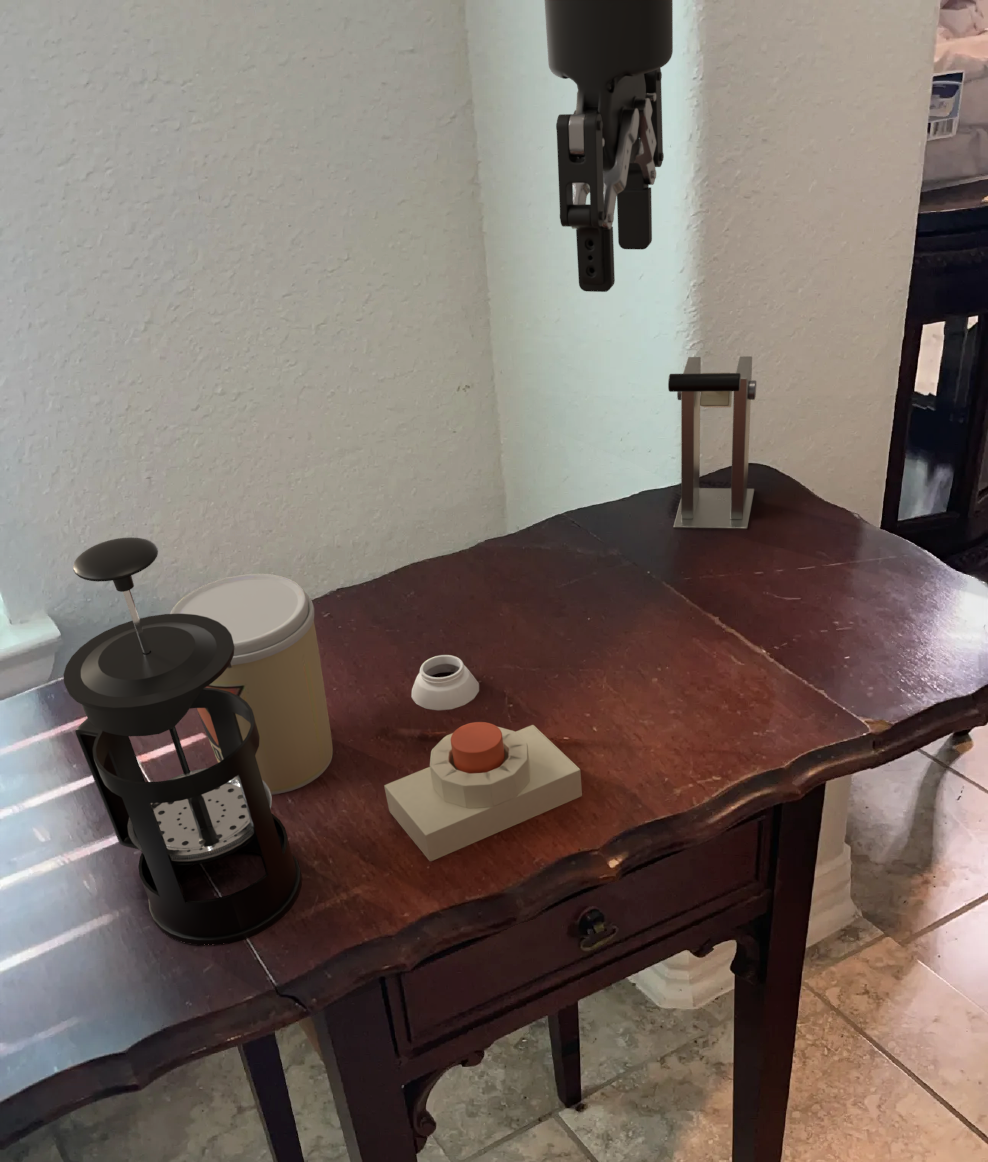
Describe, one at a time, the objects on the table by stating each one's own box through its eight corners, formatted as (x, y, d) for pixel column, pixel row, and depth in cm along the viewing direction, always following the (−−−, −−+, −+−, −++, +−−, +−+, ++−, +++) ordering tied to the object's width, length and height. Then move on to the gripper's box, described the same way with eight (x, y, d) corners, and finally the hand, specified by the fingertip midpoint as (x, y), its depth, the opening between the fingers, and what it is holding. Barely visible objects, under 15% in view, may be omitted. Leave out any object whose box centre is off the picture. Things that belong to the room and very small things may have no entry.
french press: (338, 859, 79) (254, 517, 63) (262, 963, 73) (149, 613, 57) (182, 825, 83) (67, 496, 68) (97, 921, 77) (-50, 584, 61)
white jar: (465, 674, 93) (402, 695, 92) (461, 639, 91) (396, 660, 90) (492, 708, 89) (427, 730, 88) (488, 672, 87) (421, 694, 86)
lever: (738, 399, 89) (740, 362, 88) (667, 400, 90) (669, 363, 90) (749, 407, 100) (751, 374, 99) (685, 407, 101) (687, 375, 101)
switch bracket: (746, 541, 103) (752, 384, 95) (673, 539, 105) (672, 385, 96) (754, 501, 108) (760, 349, 100) (683, 500, 110) (683, 350, 101)
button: (489, 738, 81) (486, 715, 79) (514, 762, 78) (511, 739, 77) (445, 756, 80) (441, 733, 79) (468, 781, 78) (465, 758, 76)
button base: (535, 750, 85) (530, 701, 83) (582, 796, 81) (579, 746, 78) (388, 811, 82) (378, 762, 79) (430, 862, 78) (421, 812, 75)
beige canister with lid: (189, 756, 89) (140, 606, 81) (307, 705, 92) (271, 555, 84) (245, 822, 83) (198, 666, 75) (369, 765, 86) (337, 609, 78)
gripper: (634, -7, 68) (640, 307, 79) (701, -51, 77) (699, 234, 88) (504, 0, 70) (527, 304, 81) (585, -44, 80) (596, 233, 91)
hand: (616, 267), depth 85 cm, fingers open, 8 cm apart
